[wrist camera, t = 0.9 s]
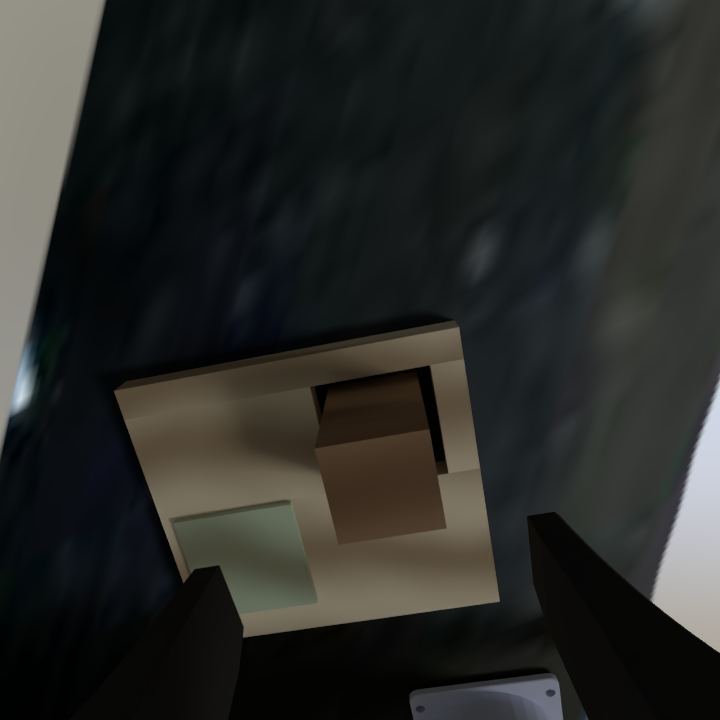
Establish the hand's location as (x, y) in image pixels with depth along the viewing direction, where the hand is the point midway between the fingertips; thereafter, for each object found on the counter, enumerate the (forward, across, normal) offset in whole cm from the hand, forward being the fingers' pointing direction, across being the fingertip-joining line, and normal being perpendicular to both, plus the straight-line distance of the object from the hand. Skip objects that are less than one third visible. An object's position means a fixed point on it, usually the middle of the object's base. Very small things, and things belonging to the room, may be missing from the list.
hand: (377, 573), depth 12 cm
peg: (+12, 0, +3) cm, 12 cm away
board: (+12, +4, +6) cm, 14 cm away
